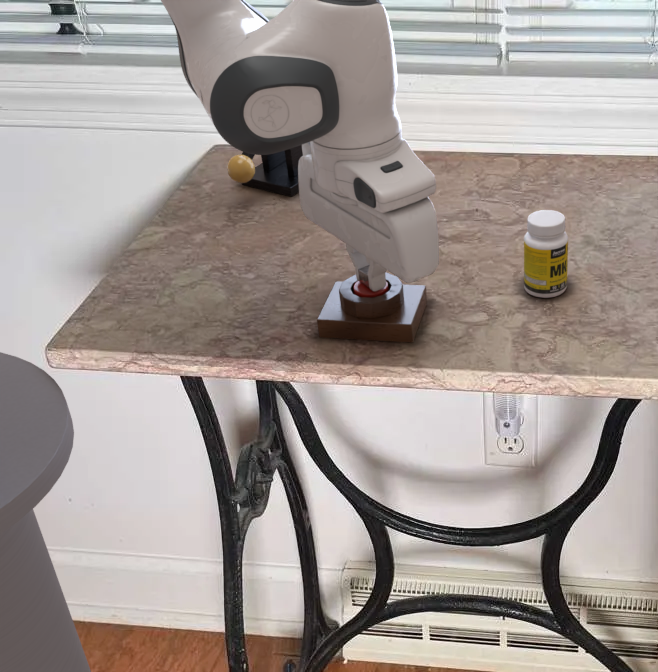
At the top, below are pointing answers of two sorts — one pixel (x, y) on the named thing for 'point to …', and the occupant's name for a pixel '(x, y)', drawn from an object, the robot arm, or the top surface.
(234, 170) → the lever
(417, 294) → the button block
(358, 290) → the button
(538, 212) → the supplement bottle
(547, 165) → the top surface
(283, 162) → the bracket
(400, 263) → the robot arm
